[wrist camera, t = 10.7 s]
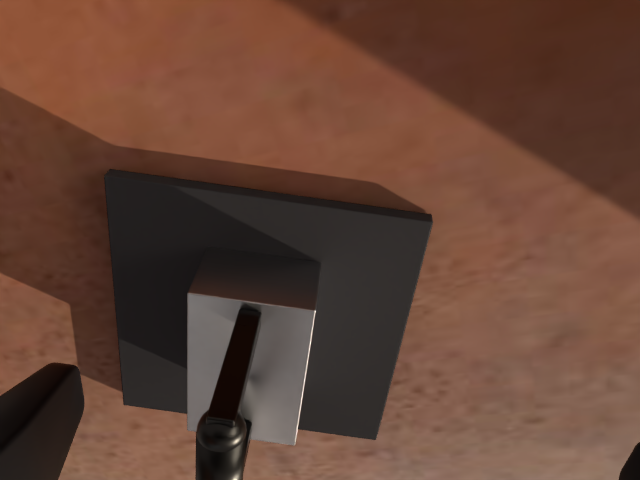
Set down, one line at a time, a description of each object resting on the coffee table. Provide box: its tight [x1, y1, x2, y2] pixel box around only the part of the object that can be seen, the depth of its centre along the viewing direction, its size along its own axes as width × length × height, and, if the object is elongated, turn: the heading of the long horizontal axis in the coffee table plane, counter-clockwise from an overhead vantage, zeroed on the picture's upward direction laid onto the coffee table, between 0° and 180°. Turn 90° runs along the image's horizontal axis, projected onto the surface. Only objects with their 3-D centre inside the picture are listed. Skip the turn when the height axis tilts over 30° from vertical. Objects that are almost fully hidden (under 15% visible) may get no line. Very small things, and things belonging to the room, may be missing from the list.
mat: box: [104, 169, 433, 440], centre depth 24 cm, size 12×12×1 cm
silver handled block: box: [187, 247, 321, 480], centre depth 20 cm, size 7×4×8 cm, turn 173°
